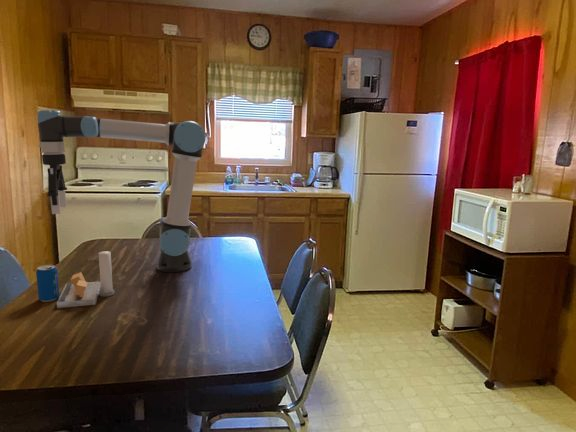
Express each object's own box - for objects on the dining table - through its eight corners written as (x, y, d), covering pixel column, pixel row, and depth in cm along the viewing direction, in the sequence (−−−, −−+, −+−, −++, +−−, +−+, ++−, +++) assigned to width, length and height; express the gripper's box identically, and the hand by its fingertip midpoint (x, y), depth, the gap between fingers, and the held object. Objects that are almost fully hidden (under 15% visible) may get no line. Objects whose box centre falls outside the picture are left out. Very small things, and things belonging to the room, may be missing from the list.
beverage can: (50, 303, 145) (47, 270, 142) (34, 301, 146) (31, 269, 144) (63, 296, 151) (61, 265, 149) (48, 294, 152) (45, 263, 150)
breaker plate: (100, 286, 162) (100, 280, 162) (95, 304, 145) (95, 298, 145) (66, 289, 158) (65, 283, 158) (57, 308, 142) (56, 301, 141)
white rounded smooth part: (115, 290, 158) (112, 250, 155) (114, 296, 153) (111, 254, 150) (100, 292, 156) (97, 251, 153) (98, 297, 151) (96, 255, 148)
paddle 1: (86, 282, 158) (81, 271, 157) (84, 287, 153) (78, 276, 152) (78, 285, 158) (73, 274, 156) (76, 290, 153) (70, 280, 151)
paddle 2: (83, 293, 150) (87, 281, 150) (81, 299, 145) (85, 287, 145) (75, 291, 149) (79, 279, 149) (72, 297, 144) (76, 285, 144)
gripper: (48, 151, 163) (54, 205, 167) (33, 155, 140) (41, 217, 144) (69, 151, 165) (75, 204, 170) (58, 155, 142) (65, 216, 147)
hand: (59, 210), depth 157 cm, fingers open, 13 cm apart
